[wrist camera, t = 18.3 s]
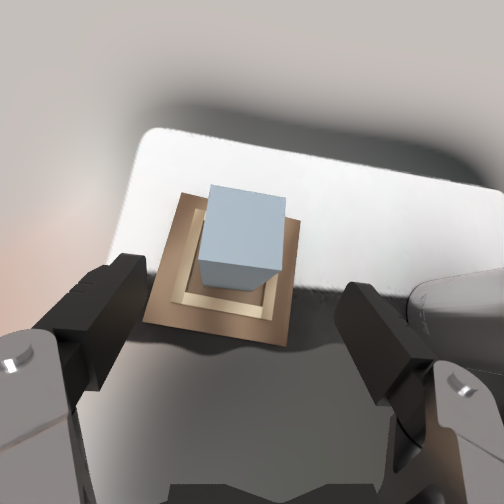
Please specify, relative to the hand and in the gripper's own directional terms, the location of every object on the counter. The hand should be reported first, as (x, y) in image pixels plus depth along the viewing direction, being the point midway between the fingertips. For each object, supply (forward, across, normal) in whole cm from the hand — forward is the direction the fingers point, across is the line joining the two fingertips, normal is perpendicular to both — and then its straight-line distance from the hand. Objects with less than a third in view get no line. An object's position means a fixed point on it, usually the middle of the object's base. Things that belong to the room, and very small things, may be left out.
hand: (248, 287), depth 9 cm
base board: (+13, 0, +8) cm, 15 cm away
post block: (+12, 0, +6) cm, 14 cm away
